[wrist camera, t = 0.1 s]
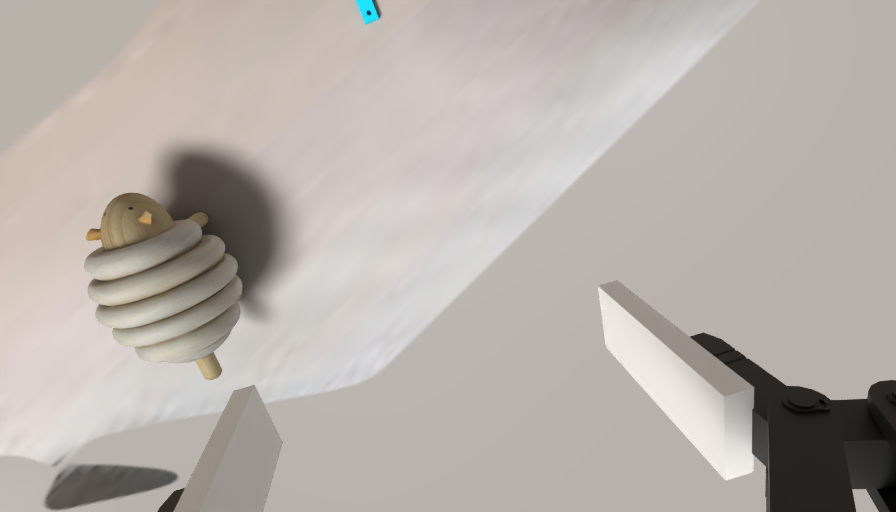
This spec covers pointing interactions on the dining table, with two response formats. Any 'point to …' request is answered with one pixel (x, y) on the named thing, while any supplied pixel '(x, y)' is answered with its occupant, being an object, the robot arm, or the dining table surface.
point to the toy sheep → (163, 283)
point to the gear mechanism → (367, 5)
